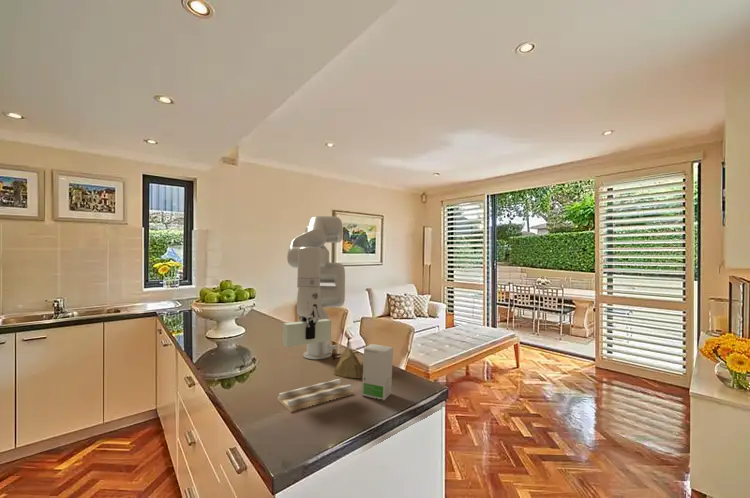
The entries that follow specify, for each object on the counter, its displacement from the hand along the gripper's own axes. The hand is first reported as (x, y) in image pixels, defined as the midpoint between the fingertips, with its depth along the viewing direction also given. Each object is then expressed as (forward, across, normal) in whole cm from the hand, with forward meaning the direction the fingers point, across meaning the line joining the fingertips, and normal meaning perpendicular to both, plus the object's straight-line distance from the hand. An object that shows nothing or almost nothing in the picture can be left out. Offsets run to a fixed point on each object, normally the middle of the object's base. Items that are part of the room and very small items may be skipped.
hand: (307, 337), depth 114 cm
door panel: (+2, 0, 0) cm, 2 cm away
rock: (+18, +4, -19) cm, 27 cm away
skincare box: (+18, -16, -18) cm, 30 cm away
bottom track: (+18, -6, 0) cm, 19 cm away
